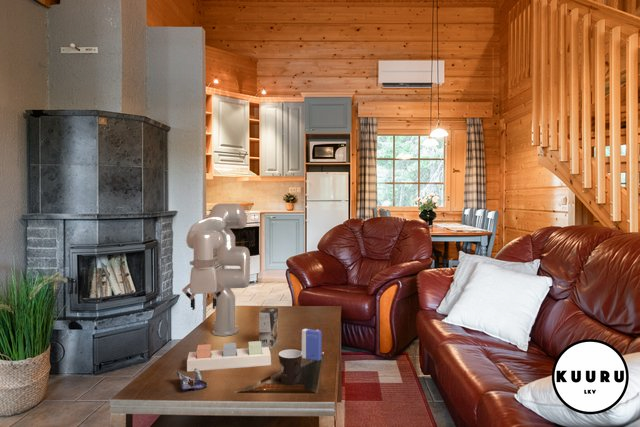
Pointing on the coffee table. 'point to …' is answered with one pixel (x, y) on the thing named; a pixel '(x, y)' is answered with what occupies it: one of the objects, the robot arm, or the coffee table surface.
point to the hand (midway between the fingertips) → (203, 308)
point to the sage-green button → (254, 348)
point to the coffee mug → (290, 365)
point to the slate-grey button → (229, 349)
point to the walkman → (311, 344)
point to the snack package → (197, 382)
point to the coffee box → (268, 327)
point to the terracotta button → (204, 351)
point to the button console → (228, 360)
